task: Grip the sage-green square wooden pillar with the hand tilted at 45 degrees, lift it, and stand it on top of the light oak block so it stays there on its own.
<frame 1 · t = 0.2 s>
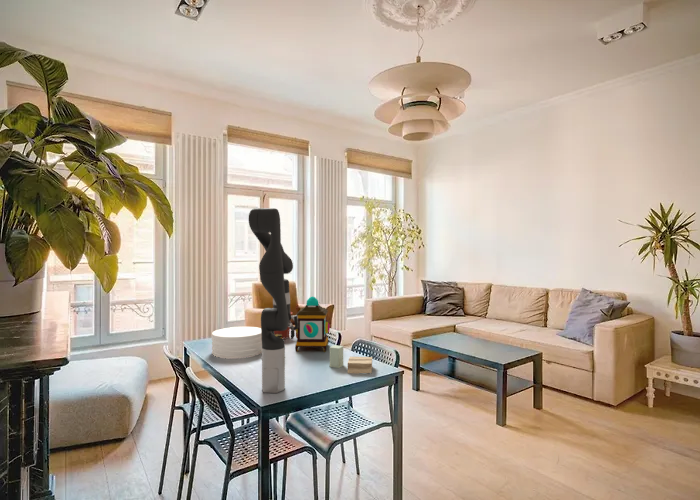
hand: (282, 338, 177), 18 cm above the table, tool pointing down, fingers open, 8 cm apart
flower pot: (279, 337, 256), on the table
oak block: (360, 370, 189), on the table
condiment: (275, 358, 210), on the table
ceramic vessel: (310, 338, 255), on the table
sage pillar: (336, 366, 195), on the table
plate stack: (238, 352, 221), on the table
decorative lantern: (312, 348, 229), on the table
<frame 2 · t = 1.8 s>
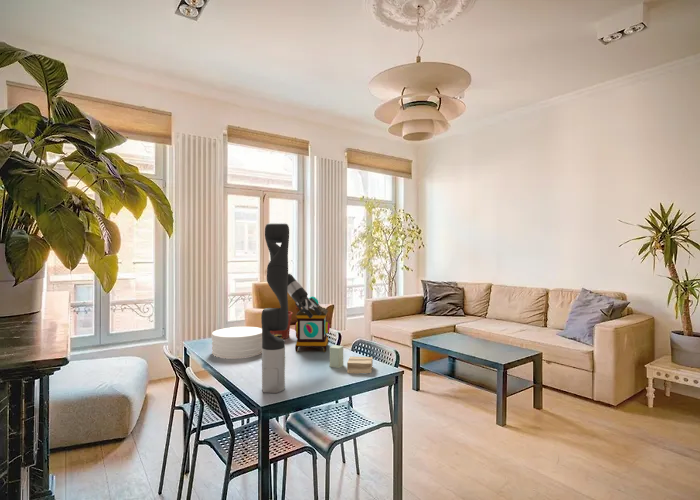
hand: (316, 315, 200), 24 cm above the table, tool tilted 45°, fingers open, 8 cm apart
nothing on the table moved.
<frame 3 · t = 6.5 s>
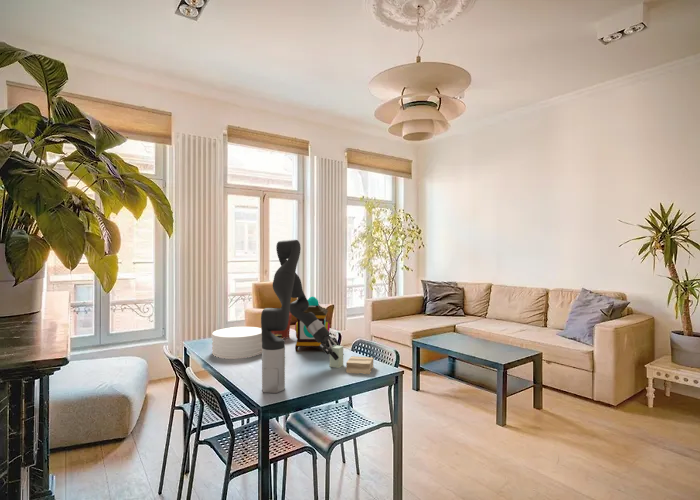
hand: (339, 357, 194), 4 cm above the table, tool tilted 45°, fingers closed on sage pillar, 5 cm apart
sage pillar: (336, 366, 195), on the table, touching gripper
everything else where it was.
when the fingers open (10 cm above the table, at t = 11.9 s): sage pillar drops 1 cm, resting on oak block.
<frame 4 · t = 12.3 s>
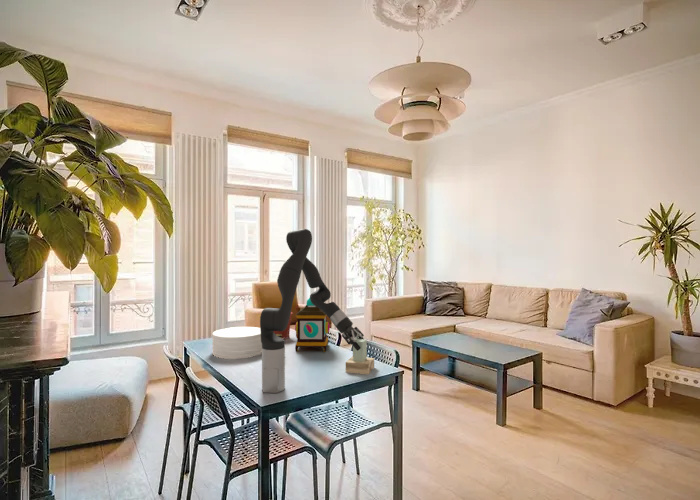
hand: (362, 347, 188), 11 cm above the table, tool tilted 45°, fingers open, 8 cm apart
oak block: (360, 370, 189), on the table, touching sage pillar
sage pillar: (359, 360, 189), point 5 cm above the table, touching oak block
everything else where it was.
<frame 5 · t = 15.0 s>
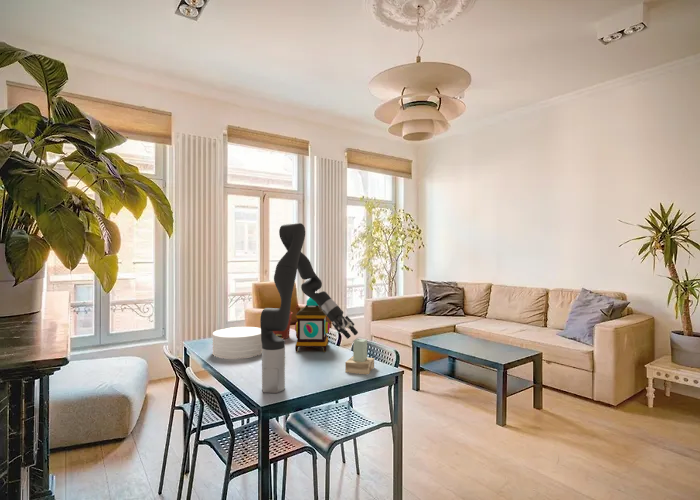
hand: (353, 335, 190), 16 cm above the table, tool tilted 45°, fingers open, 8 cm apart
nothing on the table moved.
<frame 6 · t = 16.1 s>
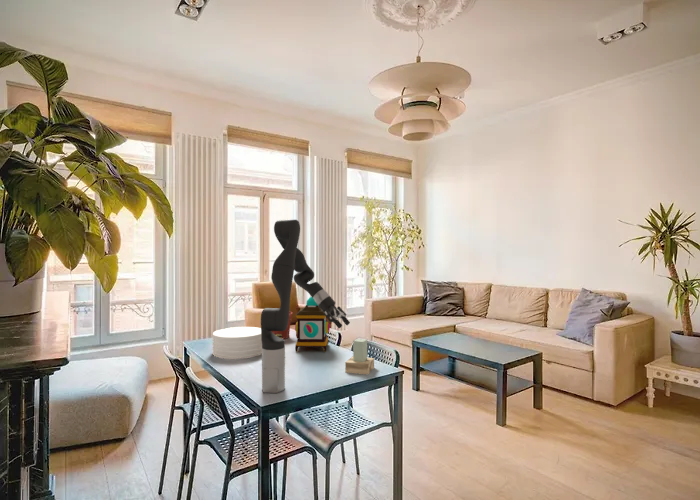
hand: (344, 325, 192), 20 cm above the table, tool tilted 45°, fingers open, 8 cm apart
nothing on the table moved.
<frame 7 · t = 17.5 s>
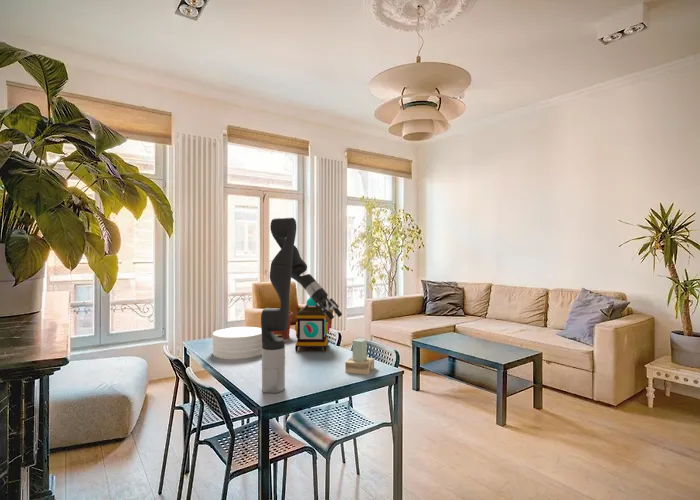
hand: (336, 317, 194), 24 cm above the table, tool tilted 45°, fingers open, 8 cm apart
oak block: (360, 370, 189), on the table
sage pillar: (359, 360, 189), point 5 cm above the table
everything else where it was.
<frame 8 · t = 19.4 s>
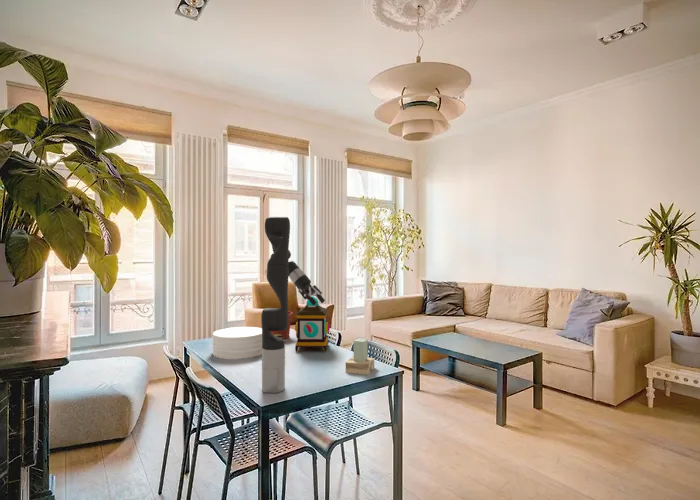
hand: (319, 303, 197), 31 cm above the table, tool tilted 45°, fingers open, 8 cm apart
oak block: (360, 370, 189), on the table, touching sage pillar
sage pillar: (360, 360, 189), point 5 cm above the table, touching oak block
everything else where it was.
at the end: sage pillar inside the target area on the oak block (0.3 cm from its centre), point 5.0 cm above the oak block's base; sage pillar tilted 1°; the gripper is holding nothing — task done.
